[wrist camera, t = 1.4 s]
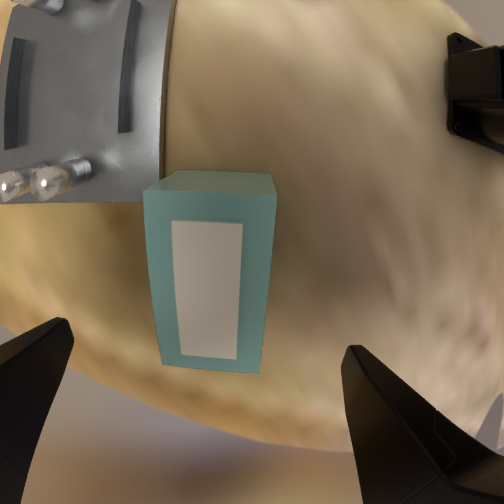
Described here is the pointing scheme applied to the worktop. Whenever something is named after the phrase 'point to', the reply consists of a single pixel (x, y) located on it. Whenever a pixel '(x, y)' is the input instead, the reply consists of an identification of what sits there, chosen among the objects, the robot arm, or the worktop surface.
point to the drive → (210, 266)
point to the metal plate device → (83, 100)
